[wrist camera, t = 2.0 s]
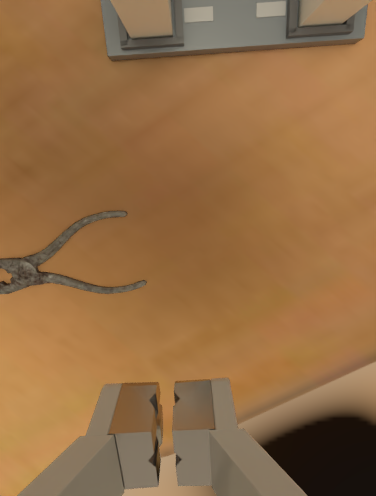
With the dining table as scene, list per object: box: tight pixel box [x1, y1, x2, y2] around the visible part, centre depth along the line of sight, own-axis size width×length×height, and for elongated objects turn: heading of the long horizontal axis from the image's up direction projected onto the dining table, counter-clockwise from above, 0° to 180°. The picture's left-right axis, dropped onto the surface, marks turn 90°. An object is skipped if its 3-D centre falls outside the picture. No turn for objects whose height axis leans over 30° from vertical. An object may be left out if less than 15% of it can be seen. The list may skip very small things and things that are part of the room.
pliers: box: [0, 211, 147, 294], centre depth 35 cm, size 10×1×20 cm
